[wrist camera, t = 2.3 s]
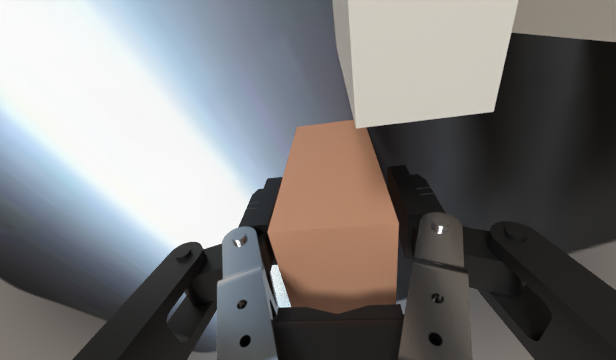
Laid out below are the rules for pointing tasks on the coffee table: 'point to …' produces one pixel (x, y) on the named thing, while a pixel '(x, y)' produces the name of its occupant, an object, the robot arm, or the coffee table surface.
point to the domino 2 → (421, 57)
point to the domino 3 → (567, 19)
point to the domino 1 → (335, 222)
